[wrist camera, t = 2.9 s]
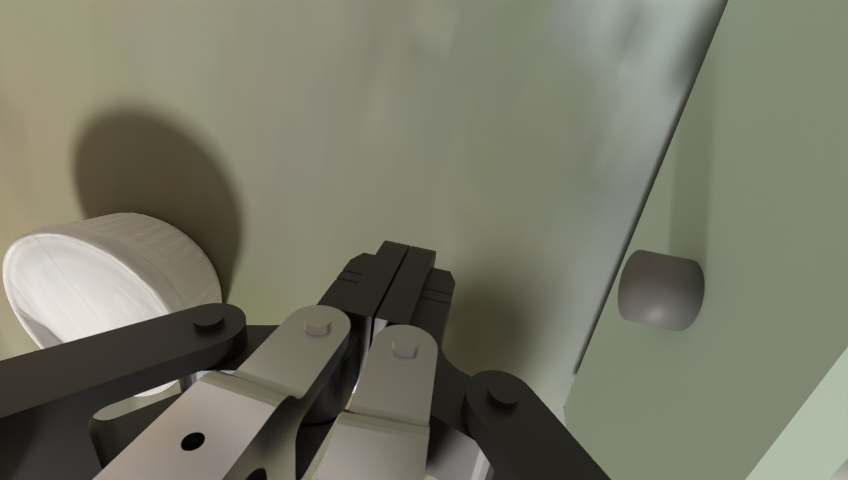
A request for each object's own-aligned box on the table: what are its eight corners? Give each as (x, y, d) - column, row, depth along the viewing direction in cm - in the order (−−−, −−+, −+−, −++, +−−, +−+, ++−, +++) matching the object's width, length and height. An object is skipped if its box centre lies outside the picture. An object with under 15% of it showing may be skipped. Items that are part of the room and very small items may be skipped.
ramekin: (63, 264, 29) (-24, 306, 24) (125, 158, 24) (32, 185, 19) (190, 367, 31) (132, 424, 26) (270, 288, 26) (217, 340, 21)
